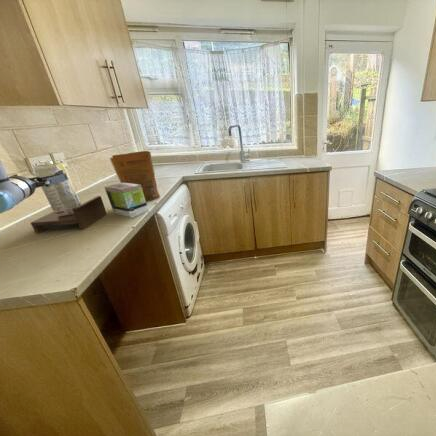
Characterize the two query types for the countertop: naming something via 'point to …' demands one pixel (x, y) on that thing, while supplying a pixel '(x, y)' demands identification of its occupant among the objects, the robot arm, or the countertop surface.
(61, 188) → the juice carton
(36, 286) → the countertop surface
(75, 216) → the shelf
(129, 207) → the tea box
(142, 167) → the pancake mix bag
